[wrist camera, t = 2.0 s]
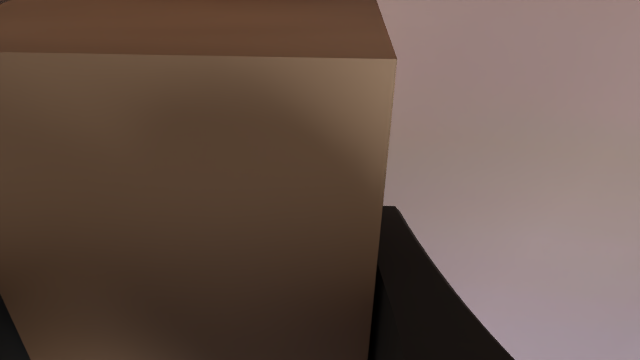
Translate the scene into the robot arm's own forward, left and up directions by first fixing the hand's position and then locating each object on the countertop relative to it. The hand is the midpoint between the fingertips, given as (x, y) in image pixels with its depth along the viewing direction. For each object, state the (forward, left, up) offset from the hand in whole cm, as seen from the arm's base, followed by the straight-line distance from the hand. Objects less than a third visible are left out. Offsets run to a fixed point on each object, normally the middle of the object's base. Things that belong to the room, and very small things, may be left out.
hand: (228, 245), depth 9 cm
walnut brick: (0, 0, -2) cm, 2 cm away
